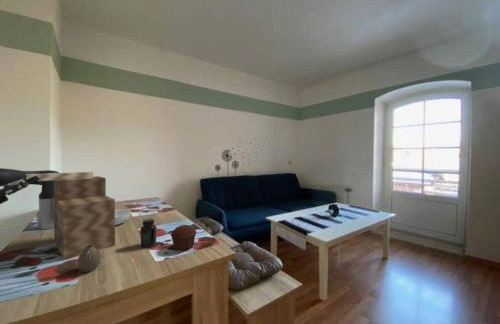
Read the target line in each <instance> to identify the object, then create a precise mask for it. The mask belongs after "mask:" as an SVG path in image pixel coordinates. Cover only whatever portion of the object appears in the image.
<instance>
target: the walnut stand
mask: <svg viewBox="0 0 500 324" xmlns="http://www.w3.org/2000/svg"><path fill="white" fill-rule="evenodd" d="M106 180H107V179H106V177H102V176H99V175H97V176H93V178H85V179H67V180H54V228H53V230H54V234H53V235H54V236H53V237H54V239H53V241H54V244H55V246H56V247H57V249H58V252H59V253H60V255H61V257H62V260H63V261H65V260H70V259H73V258H77V257H79V256H80V254H81V253H82V252H83V250H84V249H85V247H86V246H89V245H93V246H94V247H95V248H96V249H97V250H98V251H100V250H104V249H108V248H111V247H114V246H115V247H116V225H115V210H116V199H115V198H113V197H110V196H107V193H106V185H107V183H106V182H107V181H106Z"/></svg>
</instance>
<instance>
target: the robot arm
mask: <svg viewBox="0 0 500 324" xmlns="http://www.w3.org/2000/svg"><path fill="white" fill-rule="evenodd" d="M48 173H60V172H59V171H57V170H51V169H50V170H49V169H48V170H19V169H13V168H3V167H2V168H1V167H0V187H3V188H0V205H3V203H6V202H8V201H9V197H8V196H11V195H13V194H16V193H17V192H18V191H22V190H24V189H26V188H28V187H29V186H30V185H35V186H36V185H37V186H41V191H40V193H39V194H38V211H37V212H36V228H37V229H39V230H47V229H48V230H50V229H54V180H49V181H38V180H39V178H38V177H37V176H34V177H31V178H29V179H27V180H26V174H48Z"/></svg>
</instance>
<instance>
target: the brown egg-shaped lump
mask: <svg viewBox="0 0 500 324" xmlns="http://www.w3.org/2000/svg"><path fill="white" fill-rule="evenodd" d="M101 260H102V254H101V252H100V250H97V249H96V248H95V247H94V246H93V245H89V246H86V247H85V249H84V250H83V252H82V253H81V254H80V256H78V258H77V264H76V265H77V268H78V270H79V271H81V272H82V273H89V272H93V271H95V270H96V269H97V268H98V267H99V266H100V264H101Z"/></svg>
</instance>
